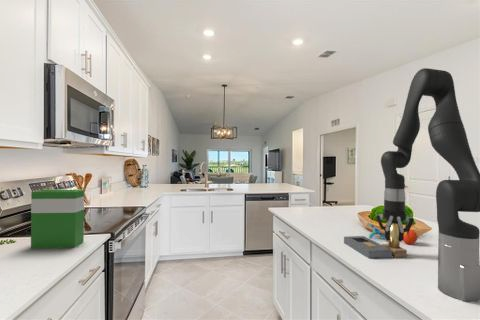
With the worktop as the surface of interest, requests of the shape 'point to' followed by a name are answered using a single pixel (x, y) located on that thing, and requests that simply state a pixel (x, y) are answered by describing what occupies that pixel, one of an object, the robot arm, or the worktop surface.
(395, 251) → the brown rectangular block
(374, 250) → the flange plate
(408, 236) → the tomato
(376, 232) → the gear
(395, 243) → the brass peg
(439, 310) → the worktop surface
